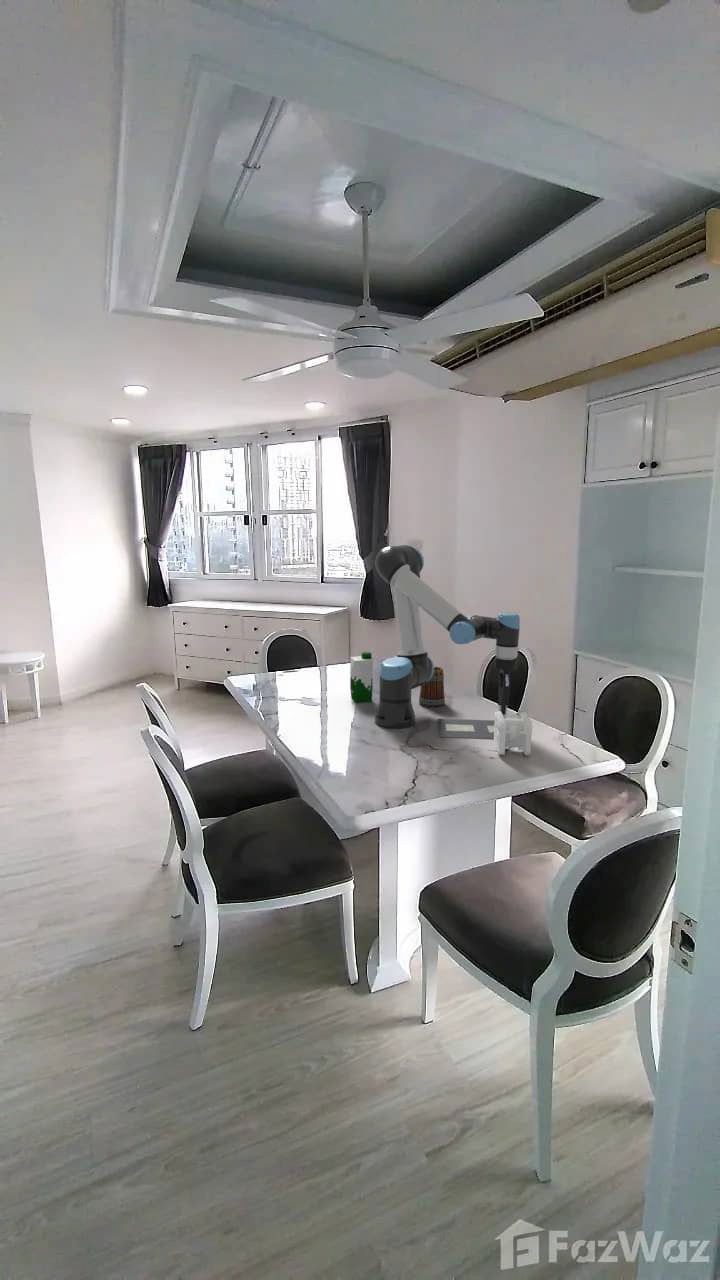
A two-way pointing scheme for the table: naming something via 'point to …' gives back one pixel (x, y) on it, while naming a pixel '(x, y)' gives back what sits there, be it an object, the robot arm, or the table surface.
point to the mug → (433, 690)
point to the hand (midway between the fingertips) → (501, 722)
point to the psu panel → (466, 728)
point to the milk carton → (361, 678)
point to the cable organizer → (512, 733)
